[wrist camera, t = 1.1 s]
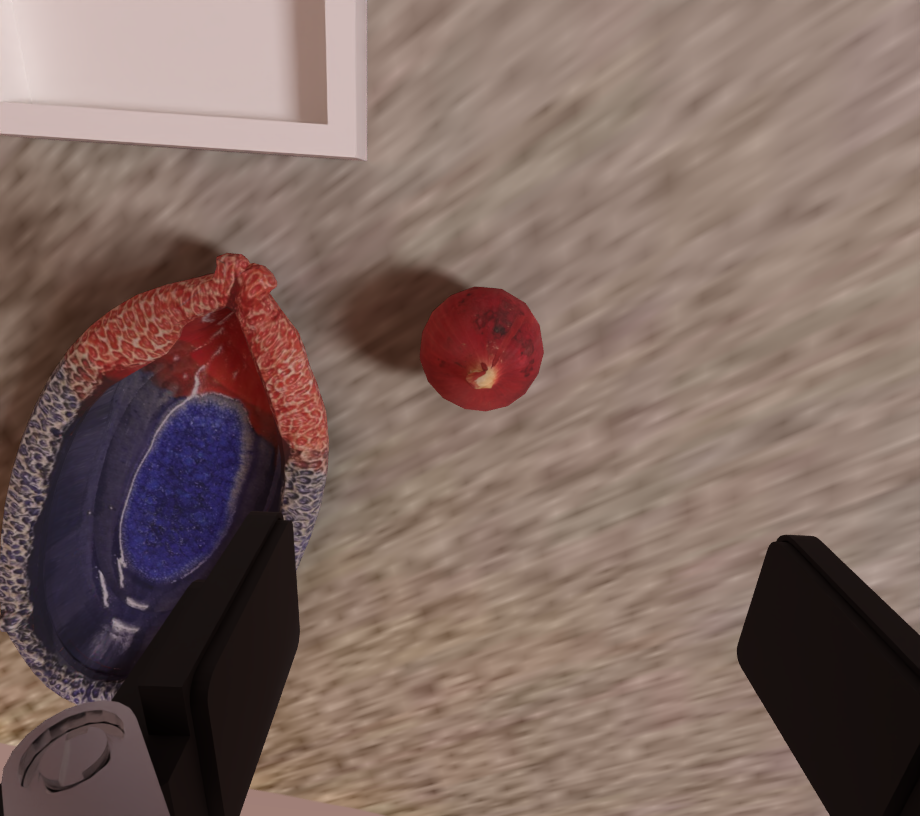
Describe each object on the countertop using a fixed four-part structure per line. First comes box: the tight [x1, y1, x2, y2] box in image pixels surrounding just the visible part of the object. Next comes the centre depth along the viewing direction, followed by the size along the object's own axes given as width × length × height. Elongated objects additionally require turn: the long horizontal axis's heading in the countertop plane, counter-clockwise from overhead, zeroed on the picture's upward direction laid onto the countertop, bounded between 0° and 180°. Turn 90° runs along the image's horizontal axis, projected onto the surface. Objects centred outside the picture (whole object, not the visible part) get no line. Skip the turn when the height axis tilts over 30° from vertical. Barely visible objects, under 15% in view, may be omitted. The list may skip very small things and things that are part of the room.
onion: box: [420, 287, 544, 411], centre depth 26 cm, size 6×6×8 cm
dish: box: [0, 253, 329, 705], centre depth 31 cm, size 16×31×5 cm, turn 150°
